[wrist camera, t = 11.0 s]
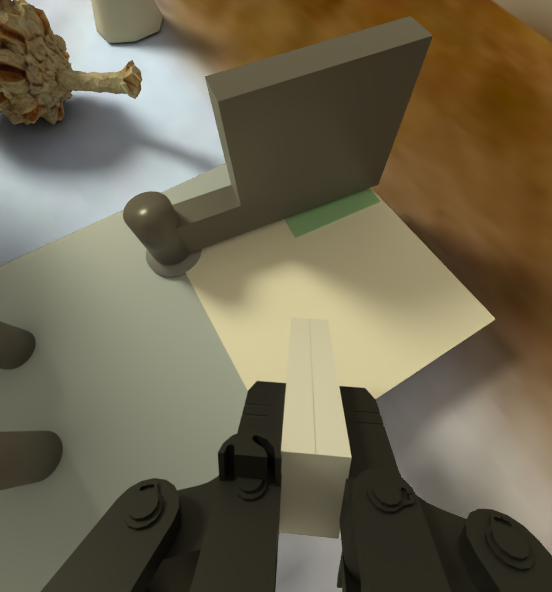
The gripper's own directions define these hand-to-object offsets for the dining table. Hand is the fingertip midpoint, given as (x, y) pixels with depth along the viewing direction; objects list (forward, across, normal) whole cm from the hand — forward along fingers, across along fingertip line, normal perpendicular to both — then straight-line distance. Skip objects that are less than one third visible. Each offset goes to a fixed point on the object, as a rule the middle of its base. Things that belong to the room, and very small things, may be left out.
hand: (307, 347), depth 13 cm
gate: (+8, -3, +5) cm, 10 cm away
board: (+6, -6, -2) cm, 8 cm away
